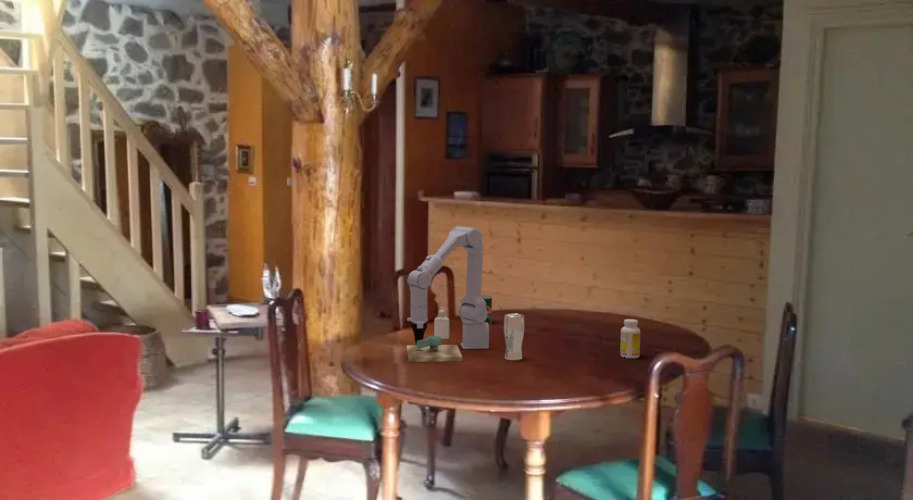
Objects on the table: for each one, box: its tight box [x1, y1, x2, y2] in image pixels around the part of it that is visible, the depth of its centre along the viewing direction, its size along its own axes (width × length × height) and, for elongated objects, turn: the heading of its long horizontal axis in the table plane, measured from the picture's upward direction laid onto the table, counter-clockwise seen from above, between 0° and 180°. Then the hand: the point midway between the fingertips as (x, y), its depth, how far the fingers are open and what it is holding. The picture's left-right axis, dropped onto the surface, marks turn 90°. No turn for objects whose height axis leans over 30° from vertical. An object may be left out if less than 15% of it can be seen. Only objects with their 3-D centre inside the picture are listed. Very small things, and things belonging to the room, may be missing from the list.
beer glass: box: [503, 313, 525, 361], centre depth 299 cm, size 7×7×15 cm
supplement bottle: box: [619, 318, 641, 359], centre depth 303 cm, size 7×7×13 cm
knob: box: [417, 335, 442, 349], centre depth 300 cm, size 11×5×3 cm, turn 142°
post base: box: [406, 344, 463, 363], centre depth 303 cm, size 18×18×4 cm
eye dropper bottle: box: [433, 306, 450, 340], centre depth 328 cm, size 4×6×12 cm
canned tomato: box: [481, 294, 493, 326], centre depth 358 cm, size 8×8×11 cm
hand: (418, 344), depth 299 cm, fingers closed
